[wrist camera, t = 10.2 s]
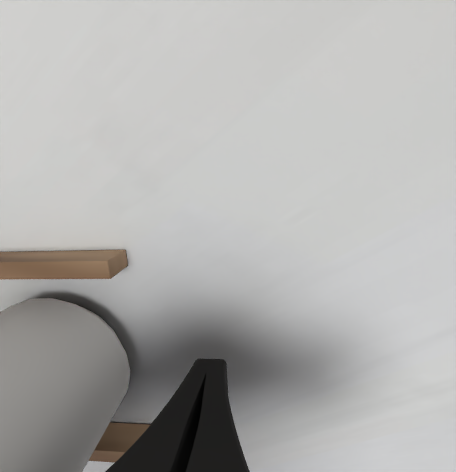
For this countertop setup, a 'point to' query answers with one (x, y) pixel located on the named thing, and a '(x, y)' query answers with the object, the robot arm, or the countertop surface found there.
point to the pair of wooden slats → (78, 267)
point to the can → (56, 385)
